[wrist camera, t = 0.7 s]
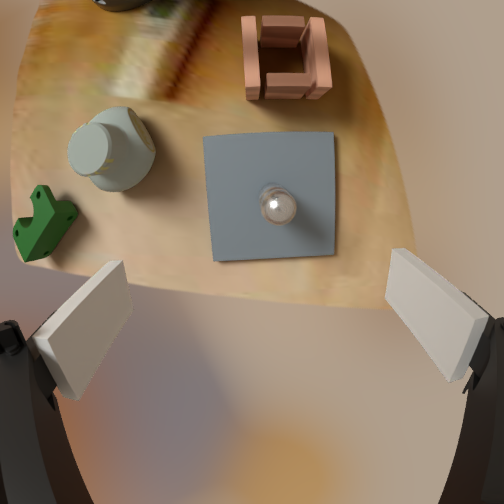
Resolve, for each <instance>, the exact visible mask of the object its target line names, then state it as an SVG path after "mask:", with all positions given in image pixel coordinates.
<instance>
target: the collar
mask: <svg viewBox="0 0 504 504" xmlns="http://www.w3.org/2000/svg"><path fill="white" fill-rule="evenodd" d="M241 22H242V38H243V54H244V71H245V87H246V100H258V99H259V92H260V73H259V59H258V45H257V32H256V19H255V16H241ZM304 28H305V30H304ZM303 30H304V32H303ZM302 33H303V34H302ZM301 35H302V36H301ZM300 37H301V38H300ZM299 39H300V41H301V50H302V59H303V69H304V73H267V75H266V80H265V85H264V99H301V97H302V96H303V95H304V94H305V93H306V99H318V98H320V97H321V96H322V95H323V94H325V93H326V92H327V91H328V90H330V89H331V88H332V79H331V70H330V61H329V52H328V45H327V37H326V30H325V24H324V18H318V17H310V19H309V21H308V23H307V25H306V27H305V23H304V16H262V24H261V35H260V43H261V48H296V46H297V44H298V42H299Z"/></svg>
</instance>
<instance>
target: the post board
mask: <svg viewBox="0 0 504 504" xmlns="http://www.w3.org/2000/svg"><path fill="white" fill-rule="evenodd" d="M203 146H204V161H205V174H206V187H207V199H208V211H209V222H210V232H211V242H212V252H213V261H229V260H248V259H266V258H284V257H301V256H319V255H334V242H335V157H334V133H333V132H263V133H243V134H229V135H217V136H206V137H203ZM267 183H277V184H280V185H281V186H282V187H283V188H284V189H285V190H287V191H288V192H289V193H290V194H291V195H292V196H293V198H294V199H295V202H296V206H297V209H296V214H295V216H294V218H293V219H292V220H291V221H290V222H289V223H287V224H285V225H281V226H276V225H272V224H270V223H268V222H267V221H266V220H265V219H264V218H263V216H262V214H261V210H260V205H259V200H258V194H259V191H260V189H261V188H262V187H263V186H264V185H265V184H267Z"/></svg>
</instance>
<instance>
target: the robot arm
mask: <svg viewBox="0 0 504 504" xmlns="http://www.w3.org/2000/svg"><path fill="white" fill-rule="evenodd" d="M92 1H93V2H94V3H95V4H96V5H98V6H99V7H100V8H102V9H104V10H107V11H124V10H129V9H133V8H136V7H139V6H141V5H144V4H146V3H148V2H150V1H152V0H92ZM385 299H386V300H387V302H388V303H389V304H390V305H391V307H392V308H393V309H394V310H395V312H396V313H397V314H398V315H399V316H400V318H401V319H402V320H403V322H404V323H405V324H406V326H407V327H408V328H409V330H410V331H411V332H412V333H413V334H414V336H415V337H416V339H417V340H418V341H419V343H420V344H421V345H422V347H423V348H424V349H425V351H426V352H427V354H428V355H429V356H430V358H431V359H432V360H433V362H434V363H435V365H436V366H437V367H438V369H439V370H440V371H441V373H442V375H443V376H444V377H445V379H446V380H447V382H448V383H450V382H453V381H456V380H459V379H461V378H463V376H464V375H465V373H466V371H467V368H468V366H470V367H471V368H472V370H473V373H472V375H471V377H470V379H469V381H468V382H467V384H466V386H465V388H464V390H463V392H462V393H463V394H465V392H466V390H467V389H468V396H467V402H466V408H465V413H464V419H463V424H462V428H461V433H460V437H459V441H458V445H457V449H456V453H455V456H454V460H453V463H452V466H451V470H450V473H449V475H448V478H447V481H446V484H445V487H444V490H443V492H442V495H441V498H440V500H439V503H438V504H504V318H503V317H502V318H497V319H496V320H495V319H494V318H493V317H492V316H491V315H490V314H489V313H488V312H486V311H485V310H484V309H483V308H482V307H481V306H479V305H477V303H476V302H475V301H474V300H472V299H471V298H470V297H469V296H468V295H466V294H465V293H464V292H462V291H460V290H459V289H457V288H456V287H455V286H454V285H452V284H451V283H450V282H449V281H447V280H446V279H445V278H444V277H442V276H441V275H440V274H439V273H437V272H436V271H435V270H433V269H432V268H431V267H429V266H428V265H427V264H426V263H424V262H423V261H422V260H420V259H419V258H418V257H416V256H415V255H414V254H412V253H411V252H410V251H408V250H407V249H405V248H395V249H392V254H391V262H390V269H389V276H388V282H387V288H386V294H385ZM133 310H134V307H133V303H132V300H131V296H130V291H129V287H128V282H127V278H126V273H125V269H124V264H123V260H115V261H109V262H108V263H107V264H105V265H104V266H103V267H102V268H101V269H100V270H99V271H98V272H97V273H96V274H94V275H93V276H92V277H91V278H90V279H89V280H88V281H87V282H86V283H85V284H84V285H83V286H82V287H81V288H80V289H78V290H77V291H76V292H75V293H74V294H73V295H72V296H71V297H70V298H69V299H68V300H67V301H66V302H65V303H64V304H63V305H62V306H61V307H60V308H59V309H58V310H56V311H55V312H53V313H52V314H51V315H50V317H48V319H47V320H46V321H45V322H44V323H43V324H42V326H40V327H39V328H38V329H37V330H36V331H35V332H34V333H33V334H32V335H31V336H30V338H28V340H27V341H25V339H24V336H23V334H22V332H21V330H20V327H19V325H18V323H17V322H16V321H14V320H9V321H4V322H2V323H0V504H94V503H93V501H92V499H91V497H90V494H89V492H88V490H87V488H86V486H85V483H84V481H83V479H82V476H81V474H80V471H79V469H78V466H77V464H76V461H75V459H74V456H73V453H72V450H71V447H70V444H69V441H68V439H67V435H66V431H65V428H64V425H63V421H62V418H61V414H60V411H59V406H58V402H57V399H56V397H55V395H54V393H53V391H54V389H55V387H56V386H57V387H58V389H59V390H60V392H61V394H62V395H63V397H65V398H69V399H73V400H77V401H79V400H80V398H81V396H82V395H83V393H84V390H85V389H86V387H87V386H88V384H89V382H90V380H91V379H92V377H93V375H94V373H95V372H96V370H97V368H98V367H99V365H100V363H101V361H102V360H103V358H104V357H105V355H106V353H107V352H108V350H109V348H110V346H111V345H112V343H113V342H114V340H115V338H116V337H117V335H118V334H119V332H120V330H121V329H122V327H123V326H124V324H125V323H126V321H127V319H128V318H129V316H130V315H131V313H132V312H133Z"/></svg>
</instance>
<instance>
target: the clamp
mask: <svg viewBox="0 0 504 504" xmlns="http://www.w3.org/2000/svg"><path fill="white" fill-rule="evenodd" d="M30 198H31V200H32V203H33V207H34V215H33V217H26V218H18V220H17V222H16V224H15V226H14V228H13V237H14V240H15V242H16V245H17V247H18V249H19V251H20V254H21V256H22V258H23V260H24V262H29V261H34V260H38V259H42V258H45V257H47V256H49V255H50V254H51V253H52V251H53V250H54V248H55V247H56V245H57V244H58V242H59V241H60V239H61V238H62V237H63V235H64V234H65V232H66V231H67V230H68V228H69V227H70V225H71V224H72V223H73V221H74V220H75V219H76V217H77V216H78V213H77V211H76V209H75V207H74V205H73V204H72V202H71V201H56V200H55V198H54V196H53V194H52V192H51V190H50V188H49V186H47V185H38V186H37V187H36V188H35V189H34V191H33V193H32V195H31V196H30Z"/></svg>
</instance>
